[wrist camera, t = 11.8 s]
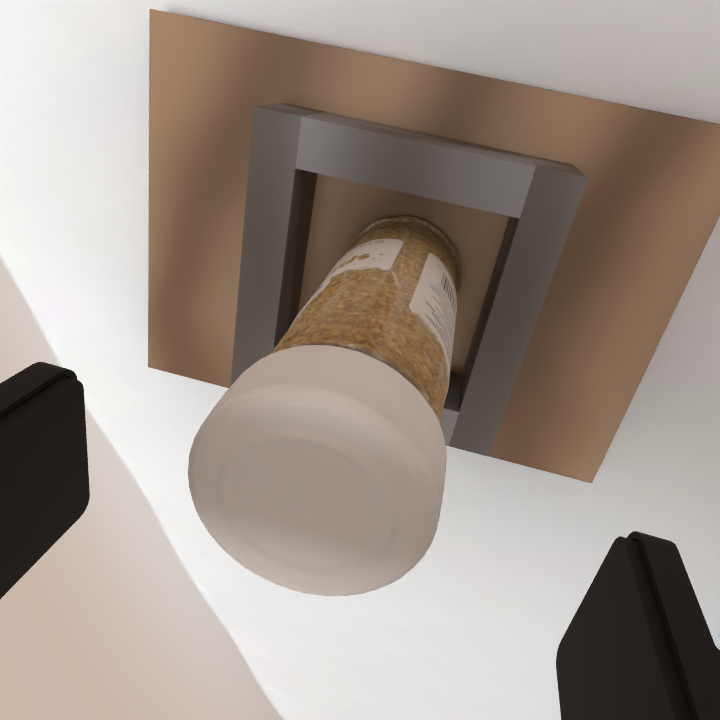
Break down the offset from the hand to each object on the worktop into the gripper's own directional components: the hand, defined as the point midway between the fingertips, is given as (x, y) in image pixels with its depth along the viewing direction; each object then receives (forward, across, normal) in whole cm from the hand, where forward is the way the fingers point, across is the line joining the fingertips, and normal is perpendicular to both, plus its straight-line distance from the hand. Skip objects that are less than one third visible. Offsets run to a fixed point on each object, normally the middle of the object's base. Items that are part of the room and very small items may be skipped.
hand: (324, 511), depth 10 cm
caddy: (+14, +1, 0) cm, 15 cm away
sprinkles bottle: (+14, +1, 0) cm, 14 cm away
